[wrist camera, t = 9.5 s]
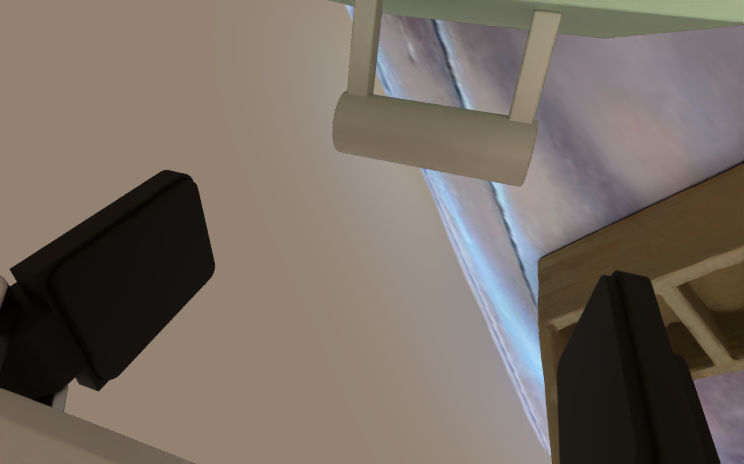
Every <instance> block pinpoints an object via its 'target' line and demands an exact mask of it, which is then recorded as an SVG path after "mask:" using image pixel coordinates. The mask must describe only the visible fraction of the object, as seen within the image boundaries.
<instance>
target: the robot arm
mask: <svg viewBox="0 0 744 464" xmlns="http://www.w3.org/2000/svg"><path fill="white" fill-rule="evenodd" d="M214 270H215V262H214V257H213V253H212V249H211V244H210V239H209V235H208V231H207V226H206V222H205V217H204V213H203V208H202V204H201V200H200V195H199V191H198V187H197V184H196V183H195V182H193V179H192V178H191V177H190V176H189V175H187V174H184V173H179V172H175V171H170V170H164V171H161V172H160V173H158V174H156V175H155V176H153V177H152V178H150V179H149V180H147V181H145V182H144V183H142V184H141V185H139V186H138V187H136V188H135V189H133V190H132V191H130V192H128V193H127V194H125V195H124V196H122V197H121V198H119V199H117V200H116V201H115V202H113V203H112V204H110V205H108V206H107V207H105V208H104V209H102V210H101V211H99V212H97V213H96V214H94V215H93V216H91V217H90V218H88V219H86V220H85V221H83V222H82V223H80V224H79V225H77V226H76V227H74V228H73V229H71V230H69V231H68V232H66V233H65V234H63V235H62V236H60V237H59V238H57V239H55V240H54V241H52V242H51V243H49V244H48V245H46V246H45V247H43V248H41V249H40V250H38V251H37V252H36V253H34V254H32V255H31V256H29V257H28V258H26V259H24V260H23V261H22V262H20V263H18V264H17V265H15V266H14V267H12V268H10V271H11V272H12V274H13V276H14V277H15V279H16V281H17V282H16V283H14V284H13V285H12V286H9V285H8V283H7V281H6V280H5V279H4V278H3V277H2V276H0V464H195V463H193V462H190V461H187V460H185V459H182V458H180V457H177V456H175V455H172V454H170V453H167V452H165V451H162V450H159V449H157V448H154V447H152V446H149V445H147V444H144V443H142V442H139V441H137V440H134V439H132V438H129V437H126V436H124V435H121V434H119V433H116V432H114V431H111V430H108V429H106V428H103V427H101V426H98V425H96V424H93V423H91V422H88V421H85V420H82V419H80V418H78V417H75V416H73V415H70V414H67V413H65V412H64V409H65V403H66V397H67V391H68V383H70V382H71V381H72V380H73V379H74V378H76V379H77V381H78V383H79V384H80V385H83V386H86V387H88V388H91V389H94V390H96V391H99V390H100V389H101V388H102V387H103V386H104V385H105V384H106V383H107V382H108V381H109V380H111V379H114V378H116V377H118V376H119V375H120V374H121V373H122V372H123V371H124V370H125V369H126V368H127V367H128V365H129V364H130V363H131V362H132V361H133V360H134V359H135V358H136V357H137V356H138V355H139V354H140V353H141V352H142V351H143V349H144V348H145V347H146V346H147V345H148V344H149V343H150V342H151V341H152V340H153V339H154V338H155V336H157V335H158V333H159V332H160V331H161V330H162V329H163V328H164V327H165V326H166V325H167V324H168V323H169V322H170V321H171V320H172V319H173V318H174V316H175V315H176V314H177V313H178V312H179V311H180V310H181V309H182V308H183V307H184V306H185V305H186V304H187V303H188V301H189V300H190V299H191V298H192V297H193V296H194V295H195V294H196V293H197V292H198V291H199V290H200V289H201V288H202V287H203V286H204V285H205V284H206V283H207V281H208V280H209V279H210V278H211V277H212V275H213V273H214ZM557 401H558V430H559V460H560V464H721V463H720V460H719V457H718V454H717V451H716V448H715V445H714V442H713V439H712V436H711V433H710V430H709V427H708V424H707V421H706V418H705V415H704V412H703V409H702V406H701V403H700V400H699V397H698V394H697V391H696V388H695V385H694V382H693V379H692V376H691V373H690V370H689V367H688V365H687V363H686V361H685V359H684V358H683V357H682V356H681V355H680V354H676V353H673V351H672V347H671V344H670V341H669V338H668V334H667V331H666V328H665V325H664V321H663V318H662V315H661V312H660V309H659V305H658V302H657V299H656V296H655V292H654V289H653V286H652V283H651V280H650V278H648V277H646V276H642V275H637V274H633V273H628V272H624V271H619V270H616V271H614V272H613V273H612V274H611V276H608V275H602V276H601V277H600V279H599V280H598V282H597V284H596V286H595V288H594V290H593V292H592V294H591V296H590V298H589V300H588V303H587V305H586V307H585V309H584V311H583V313H582V315H581V317H580V319H579V321H578V323H577V325H576V327H575V329H574V331H573V333H572V335H571V337H570V339H569V341H568V343H567V345H566V347H565V349H564V351H563V353H562V355H561V357H560V360H559V363H558V367H557Z"/></svg>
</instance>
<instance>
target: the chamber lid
mask: <svg viewBox="0 0 744 464" xmlns="http://www.w3.org/2000/svg"><path fill="white" fill-rule="evenodd" d="M330 1H334V2H338V3H342V4H346V5H350V6H354V16H353V28H352V41H351V52H350V65H349V77H348V89H347V91H345V92H344V93H343V94H342V95H341V97H340V99H339V101H338V104H337V106H336V110H335V114H334V120H333V143H334V146H335V148H336V150H337V151H339V152H343V153H347V154H353V155H358V156H364V157H368V158H373V159H378V160H384V161H389V162H394V163H399V164H404V165H409V166H415V167H420V168H425V169H430V170H435V171H441V172H446V173H451V174H456V175H461V176H466V177H472V178H477V179H482V180H487V181H492V182H497V183H503V184H508V185H513V186H518V187H519V186H521V185H522V184H523V182H524V180H525V177H526V174H527V171H528V168H529V164H530V161H531V157H532V153H533V149H534V145H535V140H536V135H537V129H538V121H536V120H534V118H535V114H536V110H537V107H538V103H539V99H540V96H541V92H542V88H543V84H544V81H545V77H546V73H547V70H548V66H549V62H550V58H551V55H552V51H553V47H554V44H555V40H556V36H557V33H560V34H569V35H578V36H587V37H595V38H614V37H624V36H635V35H645V34H656V33H666V32H677V31H687V30H698V29H708V28H719V27H729V26H740V25H744V0H330ZM382 13H384V14H393V15H401V16H410V17H419V18H428V19H437V20H445V21H454V22H463V23H472V24H481V25H490V26H498V27H507V28H516V29H525V30H529V34H528V38H527V42H526V46H525V50H524V54H523V59H522V63H521V67H520V71H519V75H518V79H517V83H516V87H515V91H514V96H513V100H512V104H511V108H510V112H509V116H507V115H500V114H494V113H488V112H481V111H475V110H469V109H462V108H456V107H450V106H443V105H437V104H431V103H424V102H418V101H412V100H405V99H399V98H393V97H386V96H380V95H374V94H373V90H374V81H375V80H374V79H375V71H376V62H377V53H378V44H379V34H380V25H381V16H382Z"/></svg>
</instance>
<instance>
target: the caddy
mask: <svg viewBox="0 0 744 464" xmlns="http://www.w3.org/2000/svg"><path fill="white" fill-rule="evenodd" d="M616 270H619V271H624V272H628V273H633V274H637V275H642V276H646V277H648V278H650V280H651V283H652V286H653V289H654V292H655V296H656V299H657V302H658V305H659V309H660V312H661V315H662V318H663V321H664V325H665V328H666V331H667V334H668V338H669V341H670V344H671V347H672V351H673V353H676V354H680V355H681V356H682V357H683V358H684V359H685V361H686V363H687V365H688V367H689V370H690V373H691V376H692V379H693V380H696V379H700V378H705V377H710V376H715V375H720V374H725V373H729V372H734V371H738V370H743V369H744V163H742V164H740V165H738V166H736V167H734V168H732V169H730V170H728V171H726V172H724V173H722V174H720V175H718V176H716V177H713V178H711V179H709V180H707V181H705V182H703V183H701V184H699V185H697V186H695V187H693V188H689V189H687V190H685V191H682V192H680V193H678V194H676V195H674V196H672V197H670V198H668V199H666V200H664V201H662V202H660V203H657V204H655V205H653V206H651V207H649V208H647V209H645V210H642V211H640V212H638V213H636V214H634V215H632V216H630V217H628V218H626V219H623V220H621V221H619V222H617V223H615V224H612V225H610V226H608V227H605V228H603V229H602V230H600V231H598V232H596V233H594V234H592V235H590V236H588V237H586V238H583V239H581V240H579V241H577V242H575V243H573V244H571V245H569V246H567V247H565V248H563V249H560V250H558V251H556V252H554V253H552V254H550V255H548V256H546V257H544V258H542V259H541V260H539V261H538V280H539V290H538V316H539V317H538V327H539V340H540V350H541V360H542V367H543V375H544V382H545V395H546V408H547V418H548V428H549V438H550V447H551V457H552V464H560V460H559V430H558V401H557V367H558V363H559V360H560V357H561V355H562V353H563V351H564V349H565V347H566V345H567V343H568V341H569V339H570V337H571V335H572V333H573V331H574V329H575V327H576V325H577V323H578V321H579V319H580V317H581V315H582V313H583V311H584V309H585V307H586V305H587V303H588V300H589V298H590V296H591V294H592V292H593V290H594V288H595V286H596V284H597V282H598V280H599V279H600V277H601V276H602V275H608V276H611V274H612V273H613V272H614V271H616Z"/></svg>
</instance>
